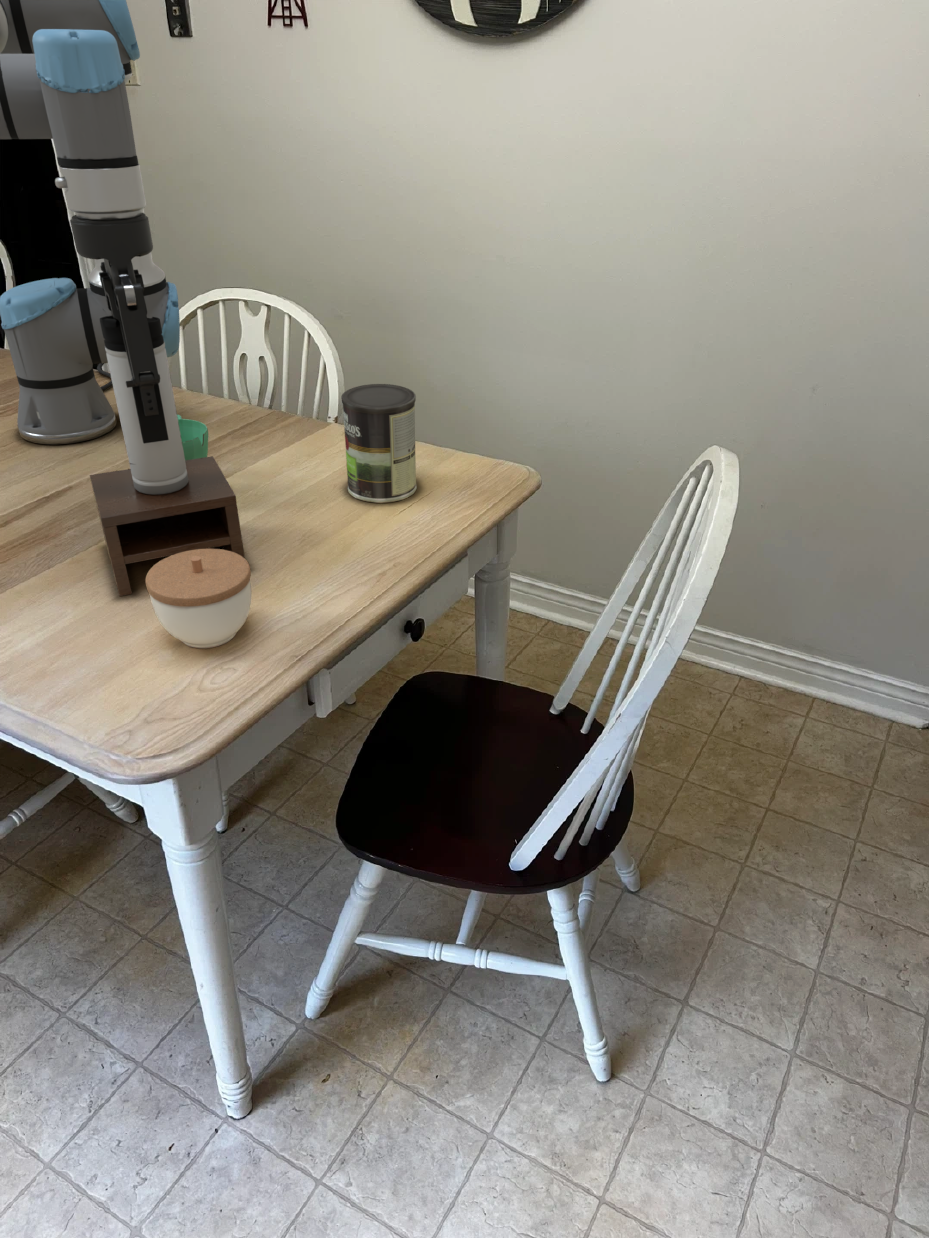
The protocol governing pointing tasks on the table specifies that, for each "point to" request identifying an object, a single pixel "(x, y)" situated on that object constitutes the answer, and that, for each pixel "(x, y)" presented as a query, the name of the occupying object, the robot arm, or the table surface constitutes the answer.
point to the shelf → (166, 517)
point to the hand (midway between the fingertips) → (149, 427)
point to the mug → (193, 438)
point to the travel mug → (150, 462)
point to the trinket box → (201, 595)
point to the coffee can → (380, 442)
